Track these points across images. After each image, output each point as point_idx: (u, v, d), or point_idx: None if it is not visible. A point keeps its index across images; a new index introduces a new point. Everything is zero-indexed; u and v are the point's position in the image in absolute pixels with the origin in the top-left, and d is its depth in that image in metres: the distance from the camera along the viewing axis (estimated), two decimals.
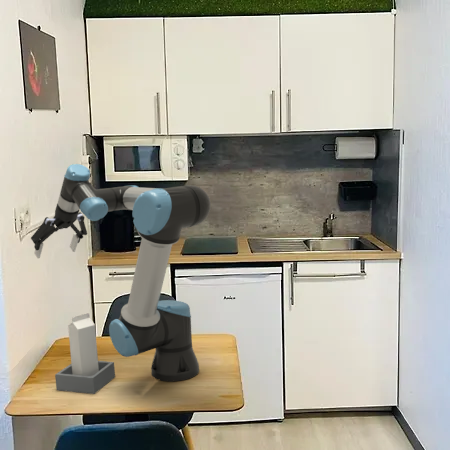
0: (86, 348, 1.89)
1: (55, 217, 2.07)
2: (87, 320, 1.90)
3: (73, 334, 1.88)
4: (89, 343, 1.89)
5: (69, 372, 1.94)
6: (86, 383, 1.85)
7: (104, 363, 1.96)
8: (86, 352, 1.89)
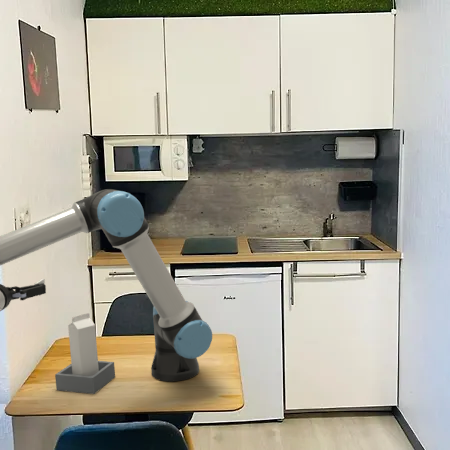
0: (86, 348, 1.89)
1: (12, 296, 1.73)
2: (87, 320, 1.90)
3: (73, 334, 1.88)
4: (89, 343, 1.89)
5: (69, 372, 1.94)
6: (86, 383, 1.85)
7: (104, 363, 1.96)
8: (86, 352, 1.89)
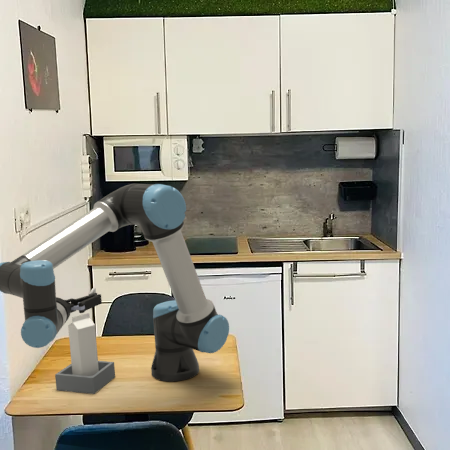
0: (86, 348, 1.89)
1: (71, 309, 1.62)
2: (87, 320, 1.90)
3: (73, 334, 1.88)
4: (89, 343, 1.89)
5: (69, 372, 1.94)
6: (86, 383, 1.85)
7: (104, 363, 1.96)
8: (86, 352, 1.89)
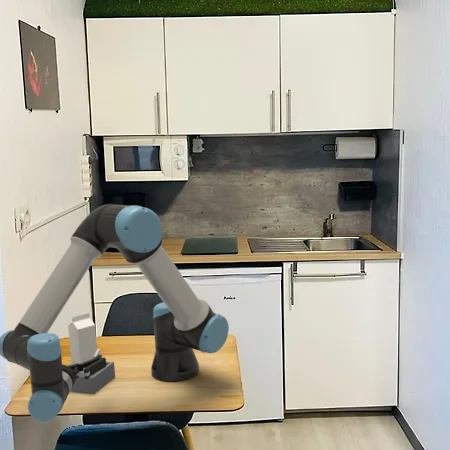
0: (86, 348, 1.89)
1: (76, 375, 1.65)
2: (87, 320, 1.90)
3: (73, 334, 1.88)
4: (89, 343, 1.89)
5: None
6: (86, 383, 1.85)
7: None
8: (86, 352, 1.89)
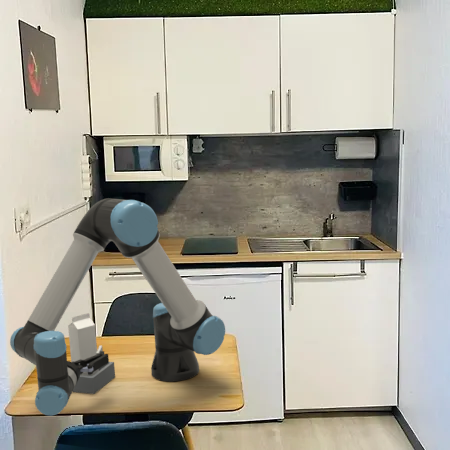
0: (86, 348, 1.89)
1: (80, 371, 1.71)
2: (87, 320, 1.90)
3: (73, 334, 1.88)
4: (89, 343, 1.89)
5: None
6: (86, 383, 1.85)
7: None
8: (86, 352, 1.89)
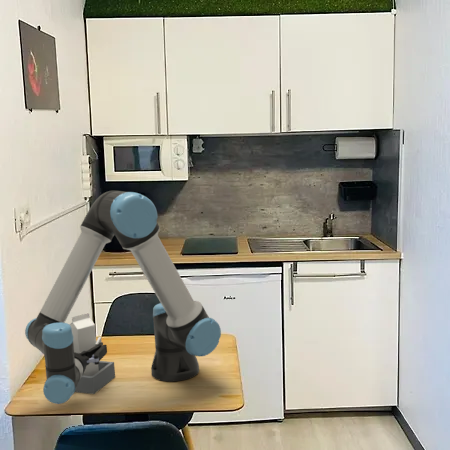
0: (86, 348, 1.89)
1: (86, 362, 1.77)
2: (87, 320, 1.90)
3: (73, 334, 1.88)
4: (89, 343, 1.89)
5: None
6: (86, 383, 1.85)
7: (104, 363, 1.96)
8: None
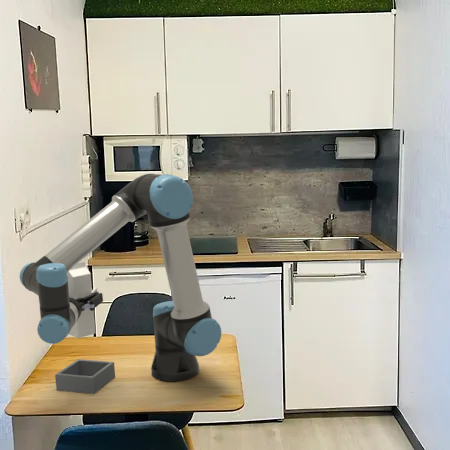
0: (82, 297, 1.86)
1: (82, 308, 1.75)
2: (83, 269, 1.88)
3: (69, 282, 1.86)
4: (85, 292, 1.87)
5: (69, 372, 1.94)
6: (86, 383, 1.85)
7: (104, 363, 1.96)
8: None
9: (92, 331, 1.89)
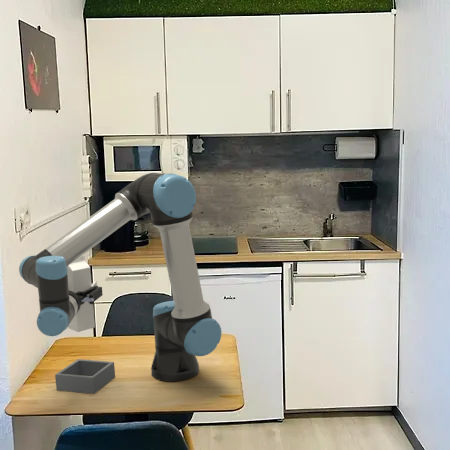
0: None
1: (81, 301, 1.74)
2: (82, 263, 1.88)
3: (68, 276, 1.85)
4: (84, 285, 1.86)
5: (69, 372, 1.94)
6: (86, 383, 1.85)
7: (104, 363, 1.96)
8: None
9: (91, 325, 1.89)
